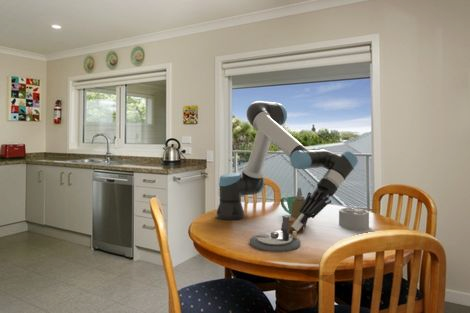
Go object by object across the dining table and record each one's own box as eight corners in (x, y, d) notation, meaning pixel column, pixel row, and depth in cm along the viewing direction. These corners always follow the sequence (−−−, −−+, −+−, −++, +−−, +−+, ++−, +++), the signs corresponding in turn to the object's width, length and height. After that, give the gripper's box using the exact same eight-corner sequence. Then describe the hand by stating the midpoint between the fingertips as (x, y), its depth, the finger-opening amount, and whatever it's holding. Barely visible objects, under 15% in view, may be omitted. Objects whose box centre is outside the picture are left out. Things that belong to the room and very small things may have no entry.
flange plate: (252, 243, 118) (252, 217, 117) (263, 231, 132) (263, 208, 132) (288, 247, 113) (288, 219, 112) (296, 235, 127) (296, 210, 127)
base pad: (242, 248, 116) (242, 237, 116) (257, 233, 135) (257, 224, 134) (295, 254, 109) (295, 243, 109) (303, 238, 127) (303, 228, 127)
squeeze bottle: (308, 223, 150) (308, 187, 150) (307, 227, 143) (307, 189, 142) (292, 222, 153) (292, 186, 152) (289, 226, 145) (289, 188, 144)
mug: (308, 216, 165) (308, 197, 165) (298, 219, 158) (298, 200, 158) (286, 212, 176) (286, 194, 175) (275, 215, 169) (275, 197, 169)
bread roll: (282, 235, 143) (275, 220, 143) (302, 225, 144) (294, 210, 143) (288, 242, 133) (280, 226, 133) (308, 231, 134) (301, 215, 133)
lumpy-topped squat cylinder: (361, 231, 136) (361, 212, 136) (334, 226, 146) (334, 208, 145) (371, 226, 144) (371, 208, 143) (344, 221, 153) (344, 204, 153)
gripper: (346, 191, 119) (310, 239, 114) (325, 187, 131) (291, 230, 126) (335, 178, 117) (298, 226, 111) (314, 175, 129) (280, 218, 124)
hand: (294, 228), depth 119 cm, fingers closed
